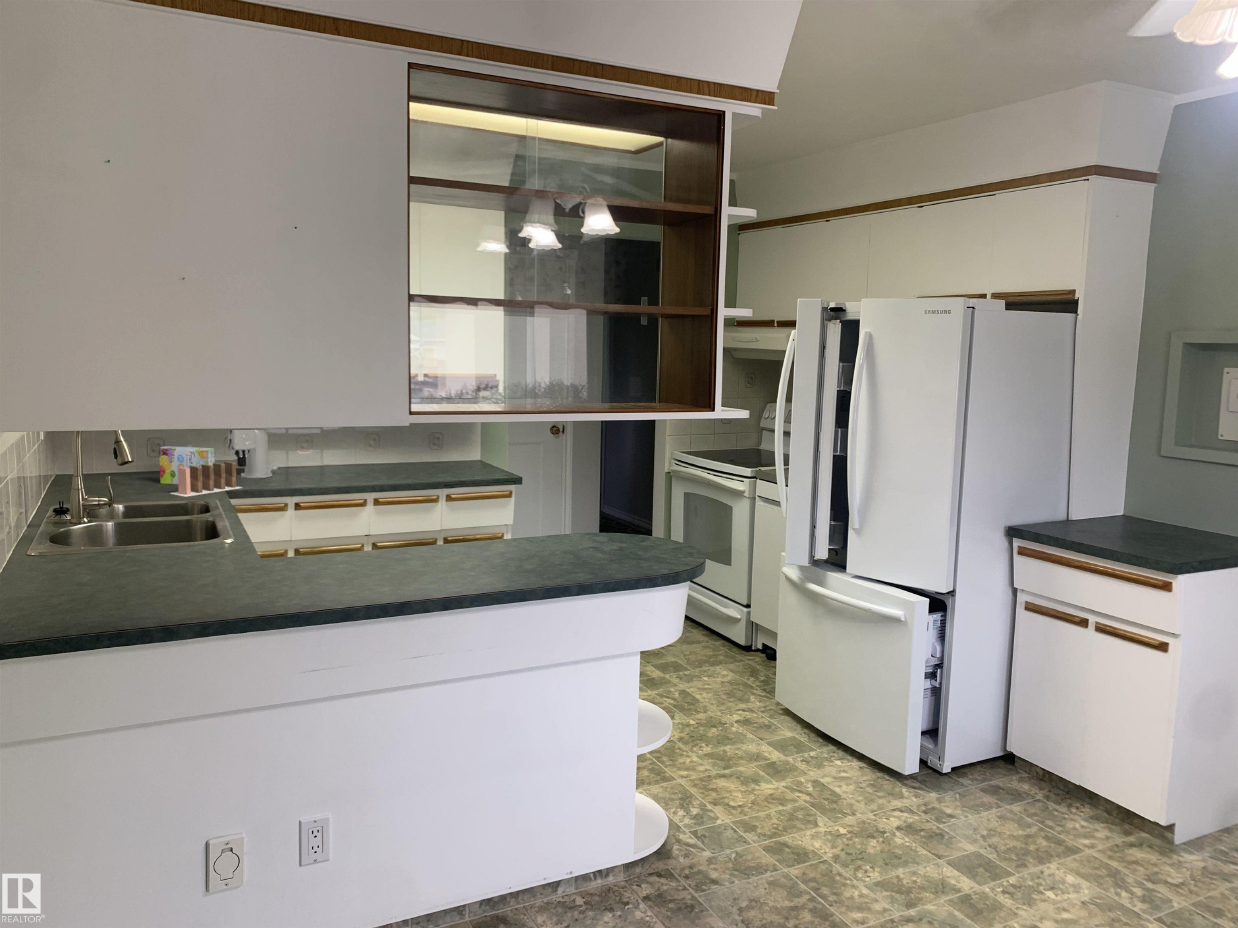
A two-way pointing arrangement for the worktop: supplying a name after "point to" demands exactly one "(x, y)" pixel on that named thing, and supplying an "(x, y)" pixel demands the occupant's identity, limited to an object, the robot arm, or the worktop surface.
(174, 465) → the snack box
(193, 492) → the domino mat
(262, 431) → the robot arm
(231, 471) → the domino
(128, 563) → the worktop surface
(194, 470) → the domino
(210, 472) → the domino
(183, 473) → the domino
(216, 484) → the domino
